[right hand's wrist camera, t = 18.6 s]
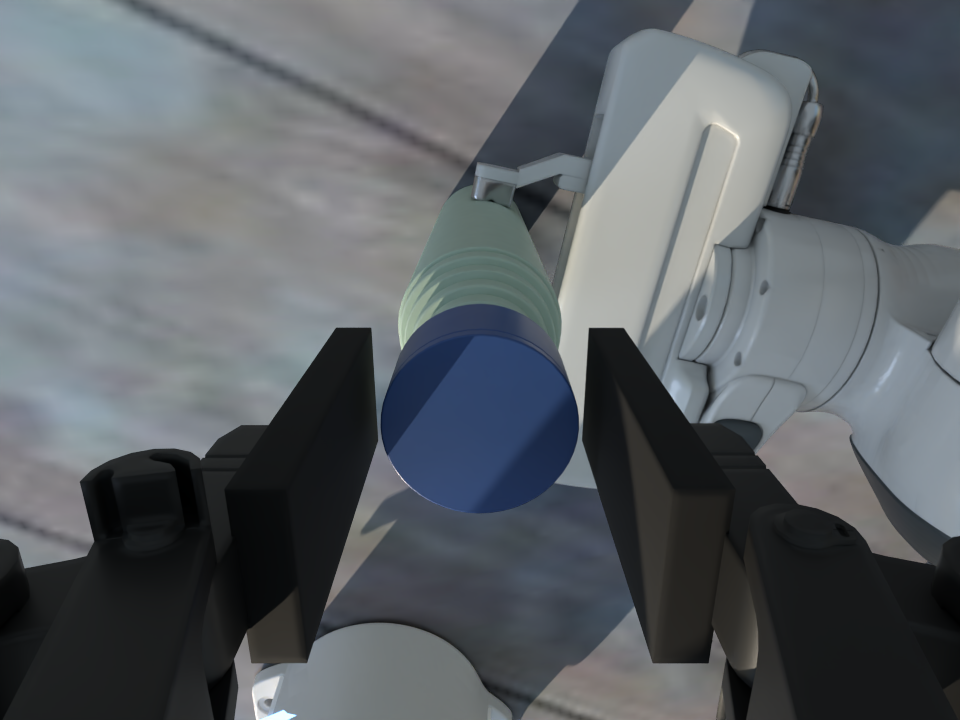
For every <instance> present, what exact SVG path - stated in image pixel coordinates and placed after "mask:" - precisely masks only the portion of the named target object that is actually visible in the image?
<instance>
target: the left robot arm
mask: <svg viewBox="0 0 960 720" xmlns="http://www.w3.org/2000/svg"><path fill="white" fill-rule="evenodd" d="M807 89H808V100H807V101H803V99H804V96H805V93H806V90H807ZM818 98H819V87H818V81H817V78H816V76H815V74H814V72H813V70H812V69H811V67H810V66H809V65H808V64H807V63H806V62H804V61H803V60H801V59H799V58H797V57H794V56H790V55H786V54H781V53H777V52H773V51H769V50H760V49H758V50H751V51H748V52H745V53H743V54H741V55H739V56H735V55H733V54H731V53H728V52H726V51H723V50H721V49H719V48H716V47H713V46H711V45H708V44H706V43H703V42H700V41H697V40H694V39H691V38H688V37H685V36H682V35H678V34H675V33H672V32H668V31H664V30H660V29H644V30H640V31H638V32H636V33H634V34H632V35H630V36H629V37H627V38H626V39H624V40H623V41H622V42H620V43H619V44H618V45H616V46H615V47H614V48H613V49H612V50H611V52H610V54H609V57H608V60H607V64H606V68H605V72H604V76H603V80H602V84H601V88H600V93H599V97H598V101H597V105H596V109H595V113H594V117H593V121H592V125H591V129H590V133H589V137H588V141H587V145H586V149H585V153H584V157H579V156H574V155H569V154H564V153H556V154H553V155H550V156H547V157H544V158H541V159H539V160H536V161H533V162H530V163H527V164H524V165H521V166H519V167H517V170H516V169H511V168H506V167H502V166H497V165H492V164H487V163H480V162H477V167H476V172H475V177H474V182H473V188H472V193H471V198H473V199H476V200H480V201H488V200H491V199H492V200H493V201H494V202H495V203H497V204H500V205H504V206H509V207H511V205H512V200H513V196H514V192H515V188H519V187H522V186H525V185H528V184H531V183H534V182H537V181H540V180H543V179H546V178H549V177H552V176H554V179H553V182H554V184H555V185H556V186H558V187H559V188H560V189H564V190H568V191H573V192H575V194H574V198H573V202H572V206H571V210H570V214H569V218H568V223H567V227H566V231H565V235H564V239H563V243H562V247H561V251H560V255H559V259H558V263H557V267H556V271H555V275H554V279H553V283H552V287H553V290H554V292H555V294H556V297H557V300H558V302H559V307H560V311H561V320H562V328H561V337H560V344H559V350H558V351H559V353H560V356H561V358H562V361H563V364H564V367H565V370H566V373H567V376H568V378H569V381H570V384H571V387H572V390H573V393H574V396H575V400H576V403H577V407H578V414H579V433H578V440H577V444H576V447H575V451H574V453H573V455H572V458H571V460H570V462H569V464H568V465H567V467H566V469H565V470H564V472H563V473H562V474H561V476H560V477H559V478H558V479H557V480H556V482H555V483H556V484H562V485H568V486H575V487H583V488H591V489H597V486H596V483H595V480H594V477H593V474H592V471H591V467H590V464H589V461H588V458H587V455H586V452H585V449H584V445H583V442H582V431H583V414H584V398H585V381H586V365H587V348H588V332H589V328H624V329H625V330H626V332H627V333H628V335H629V336H630V338H631V339H632V340H633V342H634V343H635V345H636V346H637V348H638V349H639V351H640V352H641V353H642V355H643V356H644V358H645V359H646V361H647V362H648V364H649V365H650V366H651V368H652V369H653V371H654V372H655V374H656V375H657V376H658V378H659V379H660V381H661V382H662V384H663V385H664V387H665V388H666V389H667V391H668V392H669V394H670V395H671V397H672V398H673V400H674V401H675V402H676V404H677V405H678V407H679V408H680V410H681V411H682V413H683V414H684V415H685V417H686V418H687V420H688V421H689V423H720V424H721V425H723V426H725V427H726V428H728V429H730V430H731V431H733V432H735V433H737V434H738V435H740V436H742V437H743V439H744V440H745V441H746V442H747V443H748V445H749V446H750V447H751V448H752V449H753V451H754V452H755V454H756V453H757V452H758V451H759V449H760V448H761V447H762V446H763V445H764V444H765V442H766V441H767V440H768V439H769V438H770V437H771V436H772V435H773V434H774V433H775V431H776V430H777V429H778V428H779V427H780V426H781V425H782V424H783V423H784V422H785V421H786V420H787V419H788V418H789V417H790V416H791V415H792V414H793V413H794V412H826V413H831V414H834V415H836V416H838V417H840V418H841V419H843V420H845V421H846V422H847V423H848V424H849V425H850V427H851V429H852V434H851V435H850V442H851V445H852V448H853V451H854V453H855V456H856V458H857V460H858V462H859V464H860V466H861V468H862V470H863V472H864V474H865V476H866V478H867V479H868V481H869V483H870V485H871V487H872V489H873V491H874V493H875V495H876V497H877V498H878V500H879V502H880V505H881V507H882V509H883V511H884V512H885V514H886V516H887V517H888V519H889V520H890V522H891V523H892V525H893V526H894V527H895V529H896V530H897V531H898V532H899V534H900V535H901V536H902V537H903V538H904V539H905V540H906V541H907V542H908V543H909V544H910V545H911V546H912V547H913V548H914V549H915V550H916V551H917V552H918V553H919V554H920V555H921V556H922V557H924V558H925V559H926V560H927V561H929V562H930V563H931V564H933V565H935V566H936V565H937V562H938V559H939V555H940V552H941V548H942V545H943V544H944V543H945V542H946V541H948V540H949V539H951V538H952V537H956V536H960V249H955V248H951V247H946V246H941V245H935V244H914V245H902V246H901V245H893V244H889V243H886V242H884V241H882V240H880V239H878V238H877V237H875V236H874V235H872V234H870V233H868V232H866V231H864V230H861V229H859V228H856V227H852V226H847V225H842V224H838V223H833V222H829V221H824V220H819V219H814V218H810V217H805V216H800V215H796V214H791V212H789V210H790V207H791V205H792V202H793V199H794V196H795V193H796V190H797V187H798V185H799V182H800V179H801V176H802V172H803V168H804V164H805V163H804V161H805V159H806V155H807V153H808V148H809V147H810V144H811V141H812V139H813V138H815V136H816V134H817V132H818V129H819V127H820V124H821V120H822V116H823V109H824V106H823V105H822V104H820V103H818ZM763 205H764V207H763ZM252 697H253V703H254V709H255V716H256V720H512V712H511V710H510V709H509V708H508V707H507V706H506V705H505V704H504V703H503V702H502V701H500V700H499V699H498V698H496V697H495V696H494V695H492V694H491V693H490V692H488V691H487V689H486V688H485V687H484V685H483V684H482V682H481V680H480V678H479V676H478V674H477V672H476V670H475V669H474V667H473V666H472V664H471V663H470V662H469V661H468V659H467V658H466V657H465V656H464V655H463V654H462V653H461V652H460V651H459V650H457V649H456V648H455V647H454V646H452V645H451V644H450V643H448V642H447V641H445V640H443V639H442V638H440V637H438V636H436V635H434V634H431V633H429V632H427V631H424V630H421V629H418V628H415V627H411V626H406V625H401V624H394V623H364V624H357V625H352V626H348V627H344V628H341V629H338V630H335V631H333V632H330V633H328V634H326V635H324V636H322V637H321V638H319V639H317V640H316V641H314V643H313V646H312V649H311V652H310V656H309V659H308V662H307V663H280V664H277V665H274V666H271V667H268V668H266V669H264V670H262V671H260V672H259V673H258V674H257V675H256V677H255V680H254V684H253V688H252Z"/></svg>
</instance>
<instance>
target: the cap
mask: <svg viewBox="0 0 960 720" xmlns="http://www.w3.org/2000/svg"><path fill="white" fill-rule="evenodd" d="M578 433H579V414H578V407H577V403H576V400H575V396H574V393H573V390H572V387H571V384H570V381H569V378H568V376H567V373H566V370H565V367H564V364H563V361H562V358H561V356H560V353H559V351H558V349H557V347H556V346H555V344H554V342H553V341H552V339H551V338H550V337H549V336H548V334H547V333H546V332H545V331H544V330H543V329H542V328H541V327H540V326H539V325H538V324H536V323H535V322H534V321H532V320H531V319H529V318H528V317H527V316H525V315H523V314H521V313H519V312H517V311H514V310H512V309H509V308H506V307H502V306H497V305H491V304H469V305H463V306H458V307H454V308H451V309H448V310H445V311H443V312H441V313H439V314H437V315H435V316H434V317H432V318H430V319H429V320H427V321H426V322H425V323H424V324H422V325H421V326H420V327H419V328H418V329H417V330H416V331H415V332H414V333H413V334H412V335H411V336H410V338H409V339H408V341H407V342H406V344H405V345H404V347H403V349H402V351H401V353H400V355H399V358H398V361H397V364H396V367H395V370H394V373H393V376H392V378H391V381H390V384H389V387H388V390H387V393H386V396H385V399H384V402H383V407H382V412H381V434H382V440H383V444H384V448H385V451H386V453H387V456H388V458H389V460H390V462H391V464H392V466H393V467H394V469H395V471H396V472H397V473H398V474H399V476H400V477H401V478H402V480H403V481H404V482H405V483H406V484H407V485H408V486H409V487H410V488H411V489H413V490H414V491H415V492H417V493H418V494H419V495H421V496H422V497H424V498H426V499H427V500H429V501H431V502H433V503H435V504H437V505H440V506H442V507H445V508H448V509H452V510H455V511H461V512H466V513H493V512H499V511H504V510H508V509H512V508H515V507H518V506H520V505H522V504H525V503H527V502H529V501H531V500H533V499H534V498H536V497H538V496H539V495H540V494H542V493H543V492H545V491H546V490H547V489H548V488H549V487H550V486H551V485H553V484H554V483H555V482H556V480H557V479H558V478H559V477H560V476H561V474H562V473H563V472H564V470H565V469H566V467H567V465H568V464H569V462H570V460H571V458H572V455H573V453H574V451H575V447H576V444H577V440H578Z"/></svg>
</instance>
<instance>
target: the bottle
mask: <svg viewBox="0 0 960 720" xmlns="http://www.w3.org/2000/svg"><path fill="white" fill-rule="evenodd" d="M472 188H473V185H470V186H467V187H464V188H462V189H460V190H458V191H456V192H455V193H454V194H453V195H451V196H450V198H449V199H448V200H447V201H446V202H445V204H444V206H443V207H442V209H441V212H440V214H439V216H438V218H437V221H436V223H435V225H434V228H433V230H432V232H431V235H430V237H429V239H428V241H427V244H426V246H425V248H424V251H423V253H422V255H421V257H420V260H419V262H418V264H417V267H416V269H415V271H414V274H413V276H412V278H411V280H410V283H409V285H408V287H407V290H406V292H405V294H404V297H403V300H402V302H401V306H400V311H399V319H398V329H399V337H400V345H401V350H402V349H403V347H404V345H405V344H406V342H407V341H408V339H409V338H410V336H411V335H412V334H413V333H414V332H415V331H416V330H417V329H418V328H419V327H420V326H421V325H422V324H424V323H425V322H426V321H427V320H429V319H430V318H432V317H434V316H435V315H437V314H439V313H441V312H443V311H445V310H448V309H451V308H454V307H458V306H463V305H469V304H491V305H497V306H502V307H506V308H509V309H512V310H514V311H517V312H519V313H521V314H523V315H525V316H527V317H528V318H529V319H531V320H532V321H534V322H535V323H536V324H538V325H539V326H540V327H541V328H542V329H543V330H544V331H545V332H546V333H547V334H548V336H549V337H550V338H551V339H552V341H553V342H554V344H555V346H556V347H557V349H558V350H559V344H560V337H561V328H562V320H561V311H560V307H559V302H558V300H557V297H556V294H555V292H554V290H553V287H552V285H551V283H550V280H549V278H548V276H547V274H546V271H545V269H544V267H543V264H542V262H541V260H540V257H539V255H538V253H537V250H536V248H535V246H534V244H533V241H532V239H531V237H530V234H529V232H528V230H527V227H526V225H525V223H524V221H523V218H522V216H521V214H520V211H519V209H518V207H517V205H516V204H515V202H514V201H513V200H512V205H511V207H509V206H504V205H500V204H497V203H495V202H494V201H493V200H492V199H491V200H488V201H480V200H476V199H473V198H471V193H472Z"/></svg>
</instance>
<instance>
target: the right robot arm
mask: <svg viewBox="0 0 960 720" xmlns="http://www.w3.org/2000/svg"><path fill="white" fill-rule="evenodd" d="M377 442H378V431H377V414H376V398H375V381H374V365H373V349H372V332H371V328H336V329H335V330H334V332H333V333H332V335H331V336H330V338H329V339H328V340H327V342H326V343H325V345H324V346H323V348H322V349H321V351H320V352H319V353H318V355H317V356H316V358H315V359H314V361H313V362H312V363H311V365H310V366H309V368H308V369H307V371H306V372H305V374H304V375H303V376H302V378H301V379H300V381H299V382H298V384H297V385H296V387H295V388H294V389H293V391H292V392H291V394H290V395H289V397H288V398H287V400H286V401H285V402H284V404H283V405H282V407H281V408H280V410H279V411H278V413H277V414H276V415H275V417H274V418H273V420H272V421H271V423H270V424H269V425H241V426H239V427H238V428H236V429H234V430H233V431H231V432H229V433H227V434H226V435H224V436H222V437H221V438H219V439H218V440H217V441H216V442H215V444H214V445H213V446H212V447H211V448H210V450H209V451H208V452H207V453H206V455H205V458H202V459H201V461H200V458H198V457H197V456H196V455H194V454H193V453H191V452H189V451H184V450H179V449H151V450H146V451H140V452H135V453H130V454H127V455H124V456H121V457H118V458H116V459H113V460H110V461H108V462H106V463H104V464H102V465H100V466H99V467H97V468H95V469H93V470H91V471H90V472H89V473H88V474H87V475H86V476H85V477H84V478H83V479H82V480H81V481H80V484H81V488H82V492H83V497H84V501H85V505H86V509H87V513H88V517H89V521H90V525H91V529H92V533H93V537H94V543H93V545H92V547H91V549H90V551H89V553H88V555H87V556H85V557H81V558H77V559H73V560H67V561H62V562H57V563H52V564H46V565H41V566H36V567H31V568H25V569H24V565H23V562H22V559H21V555H20V552H19V549H18V547H17V546H16V545H14V544H13V543H12V542H10V541H9V540H4V539H0V720H234V717H235V709H236V701H237V693H238V682H237V675H236V669H235V663H234V658H235V655H236V653H237V651H238V649H239V647H240V645H241V642H242V640H243V638H244V636H245V634H246V631H247V638H248V644H249V650H250V657H251V663H307V662H308V659H309V656H310V652H311V649H312V646H313V643H314V640H315V637H316V634H317V631H318V627H319V624H320V621H321V618H322V615H323V612H324V609H325V605H326V602H327V599H328V596H329V593H330V590H331V587H332V583H333V580H334V577H335V574H336V571H337V568H338V565H339V561H340V558H341V555H342V552H343V549H344V546H345V543H346V540H347V536H348V533H349V530H350V527H351V524H352V521H353V518H354V514H355V511H356V508H357V505H358V502H359V499H360V496H361V492H362V489H363V486H364V483H365V480H366V477H367V474H368V470H369V467H370V464H371V461H372V458H373V455H374V452H375V449H376V445H377ZM582 442H583V445H584V449H585V452H586V455H587V458H588V461H589V464H590V467H591V471H592V474H593V477H594V480H595V483H596V486H597V489H598V492H599V496H600V499H601V502H602V505H603V508H604V511H605V514H606V518H607V521H608V524H609V527H610V530H611V533H612V536H613V540H614V543H615V546H616V549H617V552H618V555H619V558H620V562H621V565H622V568H623V571H624V574H625V577H626V580H627V583H628V587H629V590H630V593H631V596H632V599H633V602H634V605H635V609H636V612H637V615H638V618H639V621H640V624H641V627H642V631H643V634H644V637H645V640H646V643H647V646H648V649H649V653H650V656H651V659H652V662H653V663H709V657H710V650H711V644H712V638H713V631H714V630H715V632H716V635H717V637H718V639H719V641H720V643H721V646H722V648H723V650H724V652H725V654H726V656H727V657H726V663H725V669H724V675H723V681H722V686H721V692H720V698H719V704H718V710H717V716H716V720H960V536H956V537H952V538H951V539H949V540H948V541H946V542H945V543H944V544H943V545H942V548H941V552H940V555H939V559H938V562H937V565H936V566H935V565H930V564H924V563H919V562H914V561H908V560H903V559H898V558H893V557H887V556H883V555H879V554H875V553H872V552H871V550H870V548H869V546H868V544H867V542H866V540H865V539H864V538H863V537H862V536H861V535H860V533H859V532H858V531H857V530H856V529H855V528H854V527H853V526H851V525H850V524H848V523H846V522H845V521H843V520H842V519H840V518H839V517H837V516H834V515H832V514H829V513H827V512H824V511H822V510H819V509H817V508H812V507H807V506H803V505H798V504H797V503H796V501H795V500H794V499H793V498H792V496H791V495H790V494H789V493H788V492H787V490H786V489H785V488H784V487H783V486H782V484H781V483H780V482H779V481H778V480H777V478H776V477H775V476H774V475H773V474H772V472H771V471H770V470H769V469H766V465H765V464H764V463H763V461H762V460H761V459H760V458H759V457H758V456H755V452H754V451H753V449H752V448H751V447H750V446H749V445H748V443H747V442H746V441H745V440H744V439H743V437H742V436H740V435H738V434H737V433H735V432H733V431H731V430H730V429H728V428H726V427H725V426H723V425H721V424H720V423H689V421H688V420H687V418H686V417H685V415H684V414H683V413H682V411H681V410H680V408H679V407H678V405H677V404H676V402H675V401H674V400H673V398H672V397H671V395H670V394H669V392H668V391H667V389H666V388H665V387H664V385H663V384H662V382H661V381H660V379H659V378H658V376H657V375H656V374H655V372H654V371H653V369H652V368H651V366H650V365H649V364H648V362H647V361H646V359H645V358H644V356H643V355H642V353H641V352H640V351H639V349H638V348H637V346H636V345H635V343H634V342H633V340H632V339H631V338H630V336H629V335H628V333H627V332H626V330H625V329H624V328H589V332H588V348H587V365H586V381H585V398H584V414H583V431H582Z"/></svg>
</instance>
